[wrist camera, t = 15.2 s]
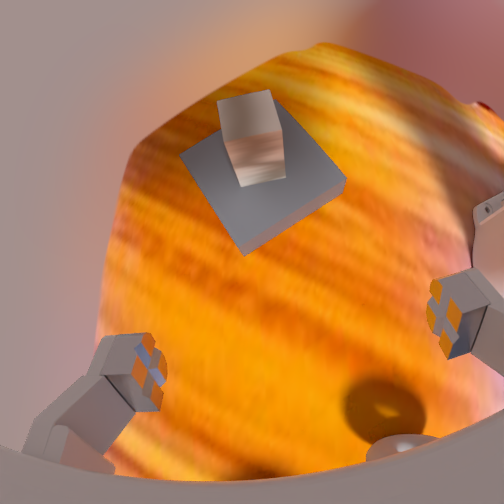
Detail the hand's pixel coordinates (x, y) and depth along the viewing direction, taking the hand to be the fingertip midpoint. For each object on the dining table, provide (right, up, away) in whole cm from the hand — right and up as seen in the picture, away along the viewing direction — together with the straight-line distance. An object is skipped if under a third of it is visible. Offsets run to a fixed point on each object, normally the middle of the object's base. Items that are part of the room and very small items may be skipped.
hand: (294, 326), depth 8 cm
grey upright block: (0, +12, +26) cm, 29 cm away
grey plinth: (0, +11, +30) cm, 32 cm away
